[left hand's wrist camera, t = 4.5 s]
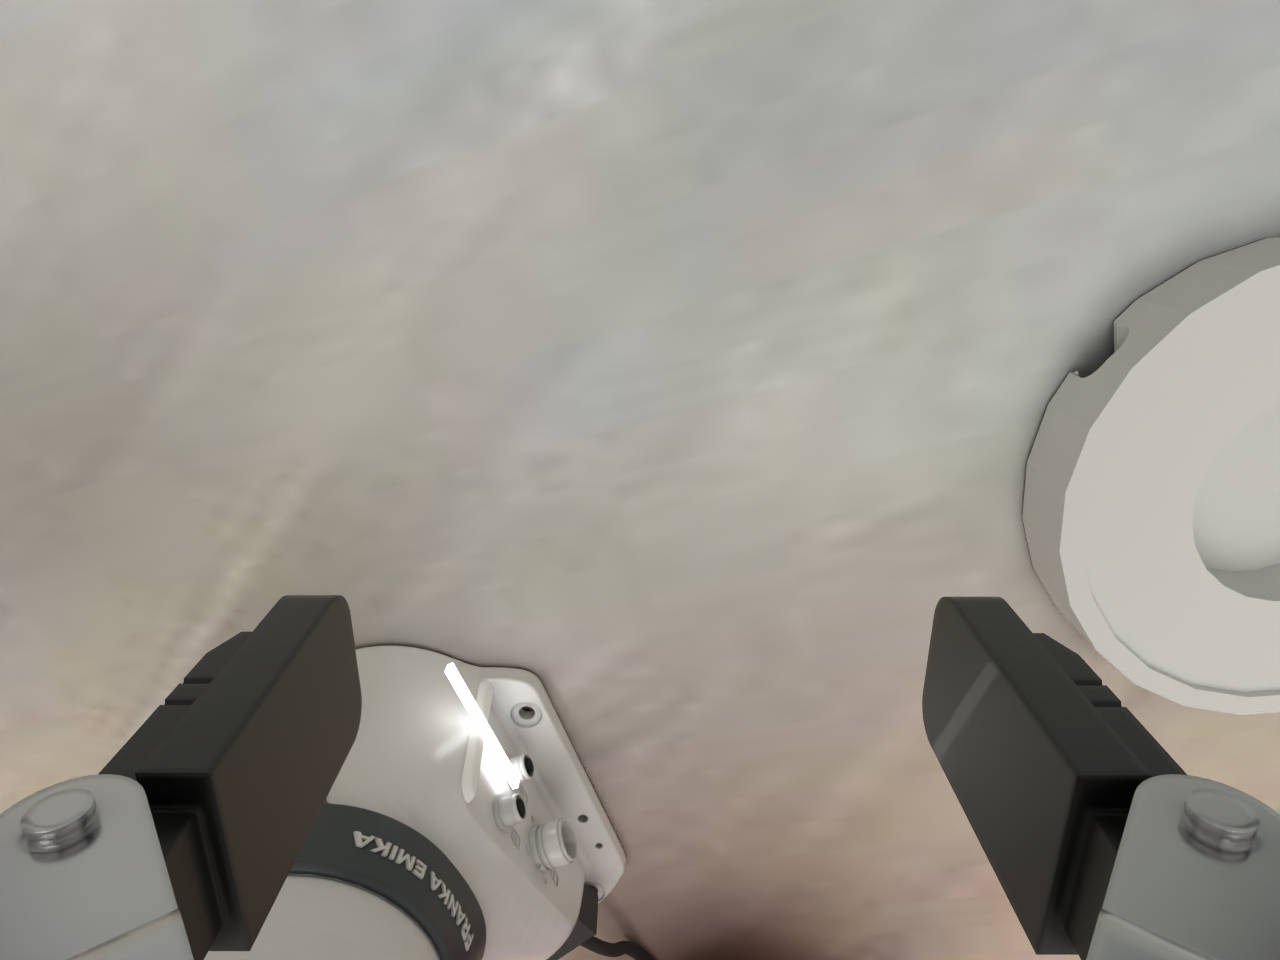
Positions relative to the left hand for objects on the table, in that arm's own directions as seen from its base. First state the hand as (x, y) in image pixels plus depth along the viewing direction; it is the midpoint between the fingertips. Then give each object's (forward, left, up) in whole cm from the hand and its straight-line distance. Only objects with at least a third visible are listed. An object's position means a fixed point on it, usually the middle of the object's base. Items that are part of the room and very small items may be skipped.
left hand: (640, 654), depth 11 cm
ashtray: (+8, +31, -29) cm, 43 cm away
